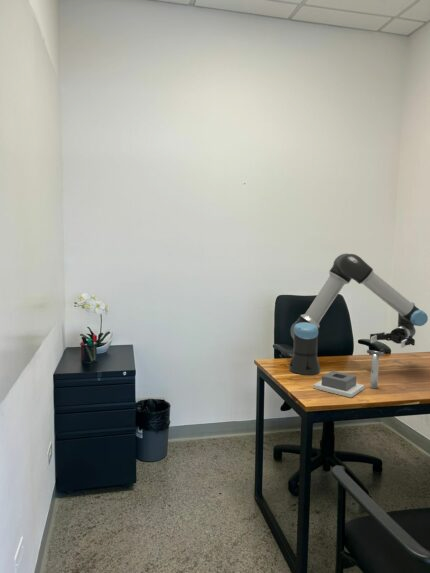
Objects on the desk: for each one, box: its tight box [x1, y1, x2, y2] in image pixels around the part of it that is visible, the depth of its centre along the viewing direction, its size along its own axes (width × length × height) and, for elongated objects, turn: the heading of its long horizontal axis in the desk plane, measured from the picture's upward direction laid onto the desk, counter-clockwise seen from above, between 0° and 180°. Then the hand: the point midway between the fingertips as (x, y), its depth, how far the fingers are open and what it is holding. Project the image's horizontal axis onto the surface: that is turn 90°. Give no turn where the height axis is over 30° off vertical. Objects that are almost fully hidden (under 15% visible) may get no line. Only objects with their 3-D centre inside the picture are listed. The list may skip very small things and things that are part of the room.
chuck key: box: [366, 349, 386, 389], centre depth 177 cm, size 8×3×16 cm, turn 50°
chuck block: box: [312, 370, 366, 398], centre depth 176 cm, size 17×15×6 cm
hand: (386, 342), depth 185 cm, fingers open, 13 cm apart
